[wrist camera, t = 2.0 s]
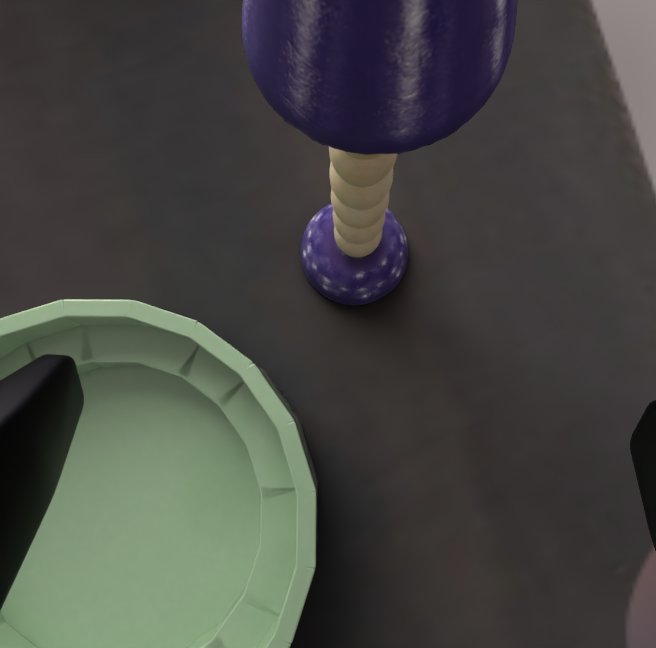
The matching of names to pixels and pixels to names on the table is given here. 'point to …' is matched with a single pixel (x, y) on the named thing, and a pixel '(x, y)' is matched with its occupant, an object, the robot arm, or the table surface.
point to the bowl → (163, 490)
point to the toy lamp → (372, 109)
